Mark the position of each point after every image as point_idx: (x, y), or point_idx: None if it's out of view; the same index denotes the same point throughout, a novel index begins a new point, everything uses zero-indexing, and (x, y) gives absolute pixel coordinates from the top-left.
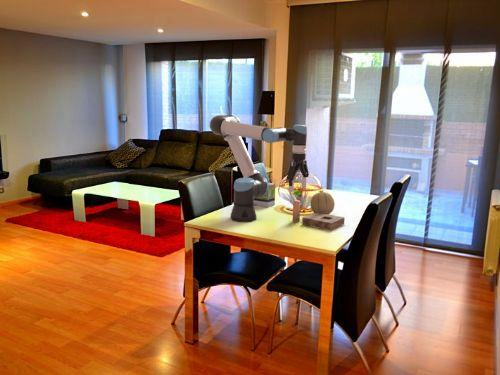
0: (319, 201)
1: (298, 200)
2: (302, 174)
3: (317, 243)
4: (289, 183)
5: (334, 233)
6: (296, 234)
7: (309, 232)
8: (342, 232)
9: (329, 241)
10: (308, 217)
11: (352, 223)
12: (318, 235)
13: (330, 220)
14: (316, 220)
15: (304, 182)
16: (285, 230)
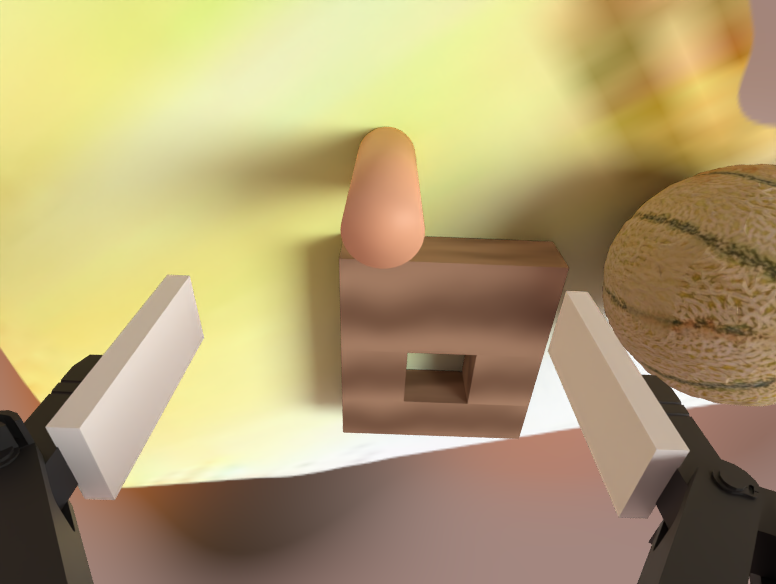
0: (641, 326)
1: (422, 233)
2: (672, 531)
3: None
4: (58, 401)
5: (309, 424)
6: (126, 305)
7: (222, 339)
8: (353, 441)
9: (181, 447)
10: (367, 291)
11: (552, 426)
12: (216, 388)
13: (395, 411)
14: (341, 354)
15: (585, 409)
16: (126, 217)
